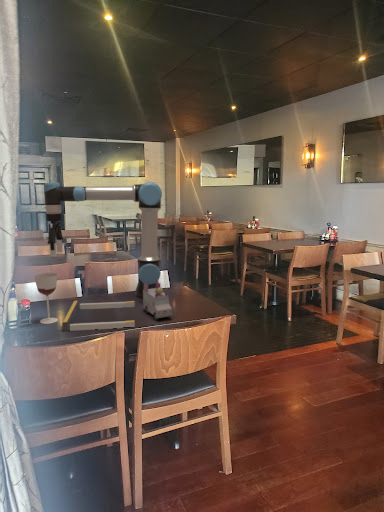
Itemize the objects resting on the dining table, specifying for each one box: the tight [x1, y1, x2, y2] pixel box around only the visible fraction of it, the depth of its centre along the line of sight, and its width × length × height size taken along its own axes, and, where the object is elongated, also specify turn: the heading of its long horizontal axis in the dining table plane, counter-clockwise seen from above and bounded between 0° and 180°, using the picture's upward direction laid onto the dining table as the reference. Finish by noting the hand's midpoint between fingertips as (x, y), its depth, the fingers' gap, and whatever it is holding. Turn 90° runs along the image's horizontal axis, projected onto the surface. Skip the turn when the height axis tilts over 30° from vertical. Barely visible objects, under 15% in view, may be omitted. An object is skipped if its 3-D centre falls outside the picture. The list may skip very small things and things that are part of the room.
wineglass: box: [34, 272, 59, 325], centre depth 176 cm, size 9×10×22 cm
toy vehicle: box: [142, 281, 173, 321], centre depth 185 cm, size 9×20×15 cm, turn 27°
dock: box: [62, 300, 136, 332], centre depth 182 cm, size 31×32×4 cm
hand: (56, 254), depth 197 cm, fingers open, 13 cm apart
